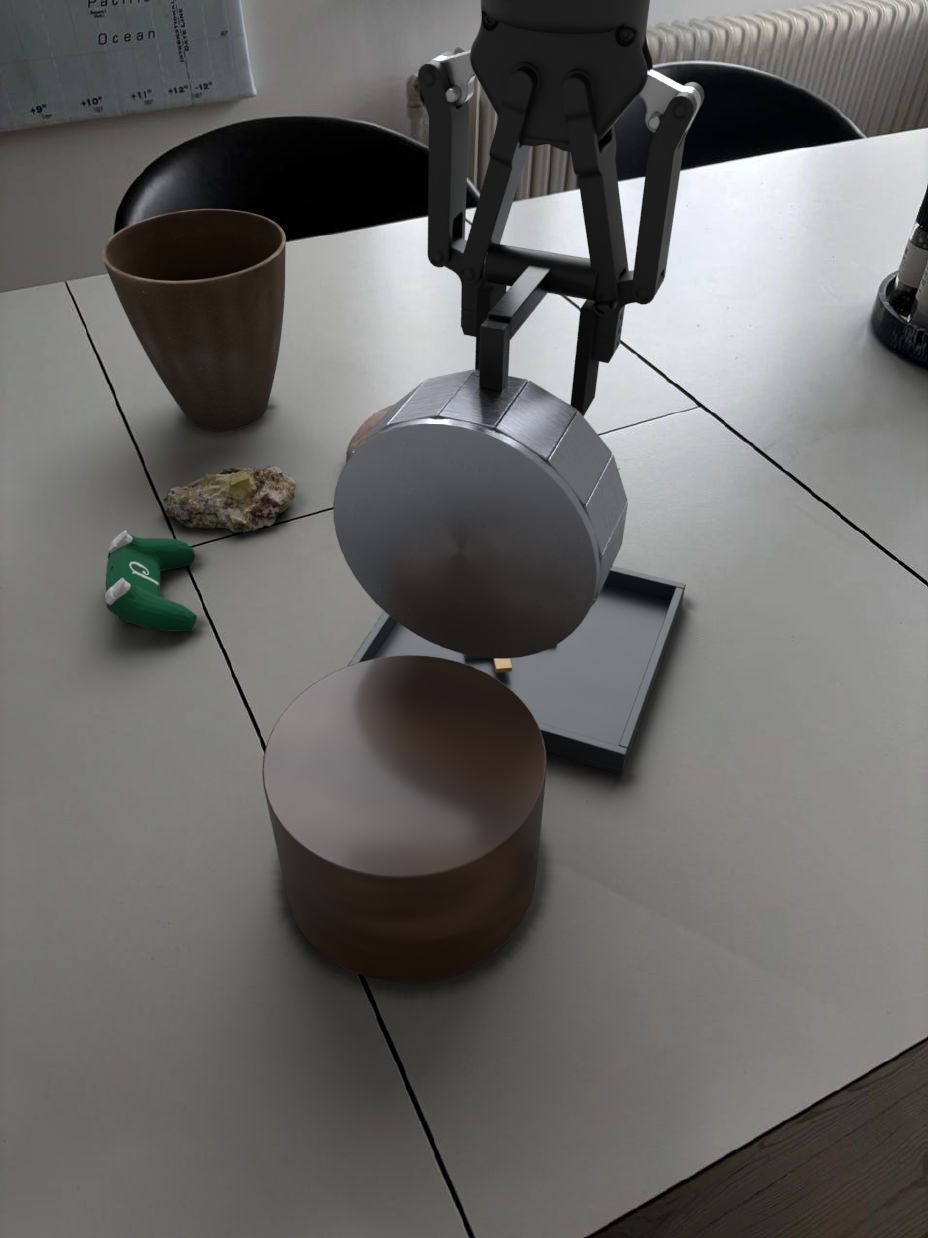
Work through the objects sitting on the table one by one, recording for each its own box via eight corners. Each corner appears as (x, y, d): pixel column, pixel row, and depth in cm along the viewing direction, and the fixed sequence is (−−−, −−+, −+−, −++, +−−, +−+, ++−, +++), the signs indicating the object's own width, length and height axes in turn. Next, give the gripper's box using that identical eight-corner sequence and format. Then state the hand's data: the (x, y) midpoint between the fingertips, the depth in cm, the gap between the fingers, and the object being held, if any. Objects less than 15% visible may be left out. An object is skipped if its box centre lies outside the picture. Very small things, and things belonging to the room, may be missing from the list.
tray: (442, 543, 80) (442, 523, 78) (681, 604, 74) (686, 583, 73) (345, 692, 68) (343, 671, 66) (622, 775, 63) (625, 755, 61)
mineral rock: (288, 444, 86) (294, 474, 79) (297, 492, 88) (304, 525, 81) (160, 464, 84) (155, 496, 77) (172, 513, 86) (168, 548, 79)
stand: (354, 740, 65) (341, 628, 58) (568, 808, 61) (581, 695, 54) (237, 929, 55) (206, 820, 48) (484, 1023, 51) (488, 919, 44)
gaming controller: (170, 576, 79) (101, 541, 76) (199, 544, 78) (130, 508, 74) (170, 657, 73) (95, 623, 69) (201, 624, 71) (126, 588, 68)
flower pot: (156, 469, 87) (113, 294, 76) (132, 387, 97) (91, 221, 86) (324, 435, 91) (305, 264, 80) (284, 360, 101) (263, 198, 90)
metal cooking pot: (342, 620, 58) (429, 501, 67) (583, 688, 54) (641, 552, 63) (314, 322, 46) (425, 225, 55) (622, 381, 42) (687, 267, 51)
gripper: (799, -85, 43) (701, 397, 59) (411, -116, 47) (417, 339, 63) (773, -56, 38) (673, 464, 53) (340, -94, 42) (365, 395, 58)
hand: (534, 395), depth 58 cm, fingers closed on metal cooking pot, 5 cm apart
